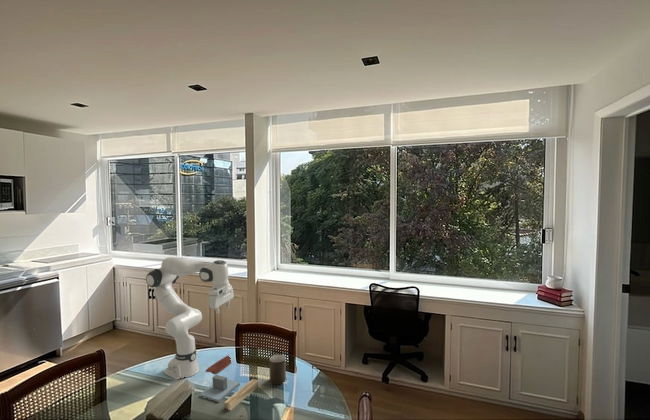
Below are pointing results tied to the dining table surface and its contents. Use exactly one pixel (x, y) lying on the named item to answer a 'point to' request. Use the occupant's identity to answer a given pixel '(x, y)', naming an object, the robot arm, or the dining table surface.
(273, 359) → the pillar candle
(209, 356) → the dining table surface
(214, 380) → the ridge stand
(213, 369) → the wooden tablet
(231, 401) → the oak rod
